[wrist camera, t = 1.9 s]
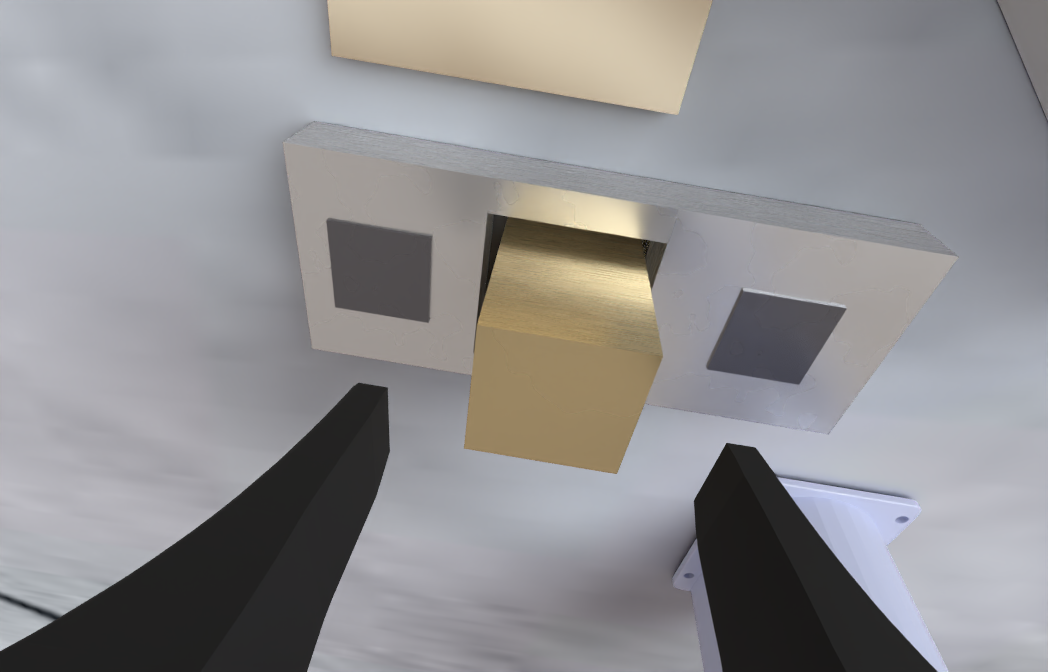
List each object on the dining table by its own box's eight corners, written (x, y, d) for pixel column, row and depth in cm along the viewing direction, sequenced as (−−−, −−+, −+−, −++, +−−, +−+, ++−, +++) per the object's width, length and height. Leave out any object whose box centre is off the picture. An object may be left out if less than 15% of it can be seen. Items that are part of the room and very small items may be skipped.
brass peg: (608, 327, 19) (616, 474, 14) (497, 308, 19) (463, 448, 13) (638, 224, 16) (663, 356, 11) (511, 202, 16) (477, 324, 11)
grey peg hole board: (809, 394, 20) (829, 436, 18) (334, 315, 19) (310, 350, 18) (919, 224, 15) (960, 258, 14) (314, 121, 15) (280, 143, 14)
